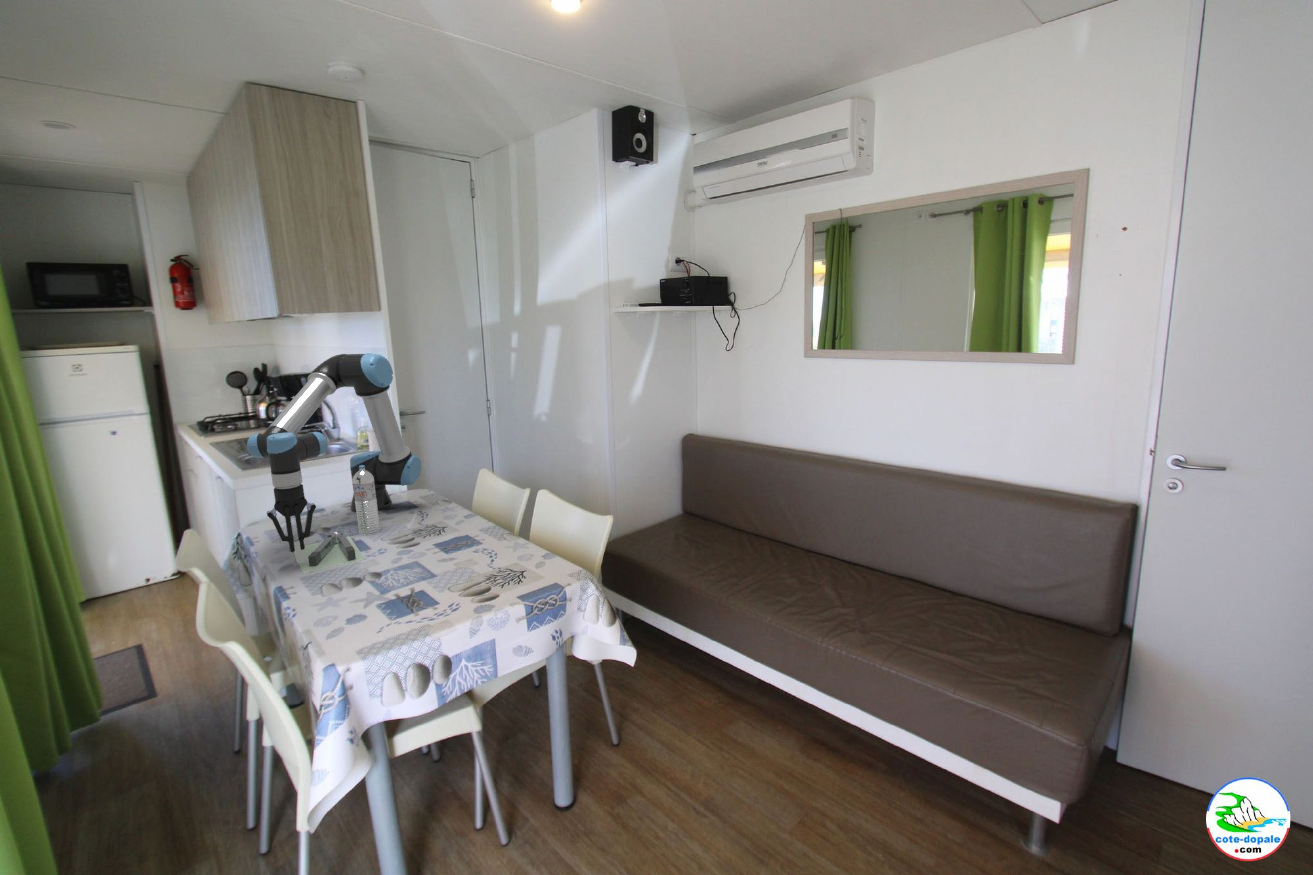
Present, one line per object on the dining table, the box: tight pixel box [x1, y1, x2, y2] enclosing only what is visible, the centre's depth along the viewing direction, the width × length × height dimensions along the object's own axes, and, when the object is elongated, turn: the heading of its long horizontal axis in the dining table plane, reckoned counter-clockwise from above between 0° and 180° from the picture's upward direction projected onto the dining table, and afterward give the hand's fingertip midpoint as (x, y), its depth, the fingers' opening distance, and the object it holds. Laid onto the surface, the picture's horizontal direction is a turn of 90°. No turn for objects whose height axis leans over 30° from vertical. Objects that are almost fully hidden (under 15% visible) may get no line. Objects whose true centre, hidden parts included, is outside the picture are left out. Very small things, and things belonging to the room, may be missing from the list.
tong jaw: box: [308, 536, 335, 566], centre depth 193 cm, size 2×17×3 cm, turn 11°
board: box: [293, 535, 366, 574], centre depth 195 cm, size 17×26×1 cm, turn 36°
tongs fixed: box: [326, 529, 356, 560], centre depth 197 cm, size 5×24×4 cm, turn 36°
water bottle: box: [351, 465, 381, 536], centre depth 212 cm, size 7×7×25 cm
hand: (299, 560), depth 185 cm, fingers closed
